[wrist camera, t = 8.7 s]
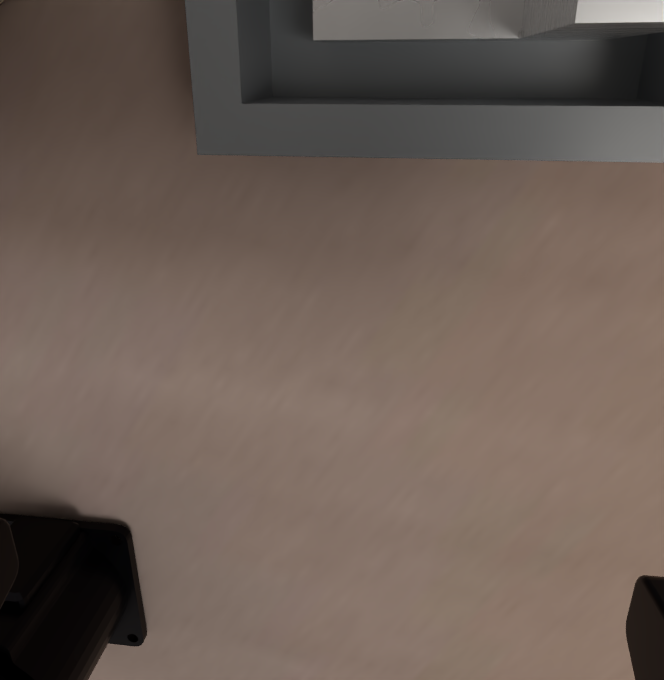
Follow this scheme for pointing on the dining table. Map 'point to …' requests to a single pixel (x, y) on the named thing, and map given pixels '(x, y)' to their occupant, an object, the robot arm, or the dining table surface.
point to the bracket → (483, 20)
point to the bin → (416, 92)
